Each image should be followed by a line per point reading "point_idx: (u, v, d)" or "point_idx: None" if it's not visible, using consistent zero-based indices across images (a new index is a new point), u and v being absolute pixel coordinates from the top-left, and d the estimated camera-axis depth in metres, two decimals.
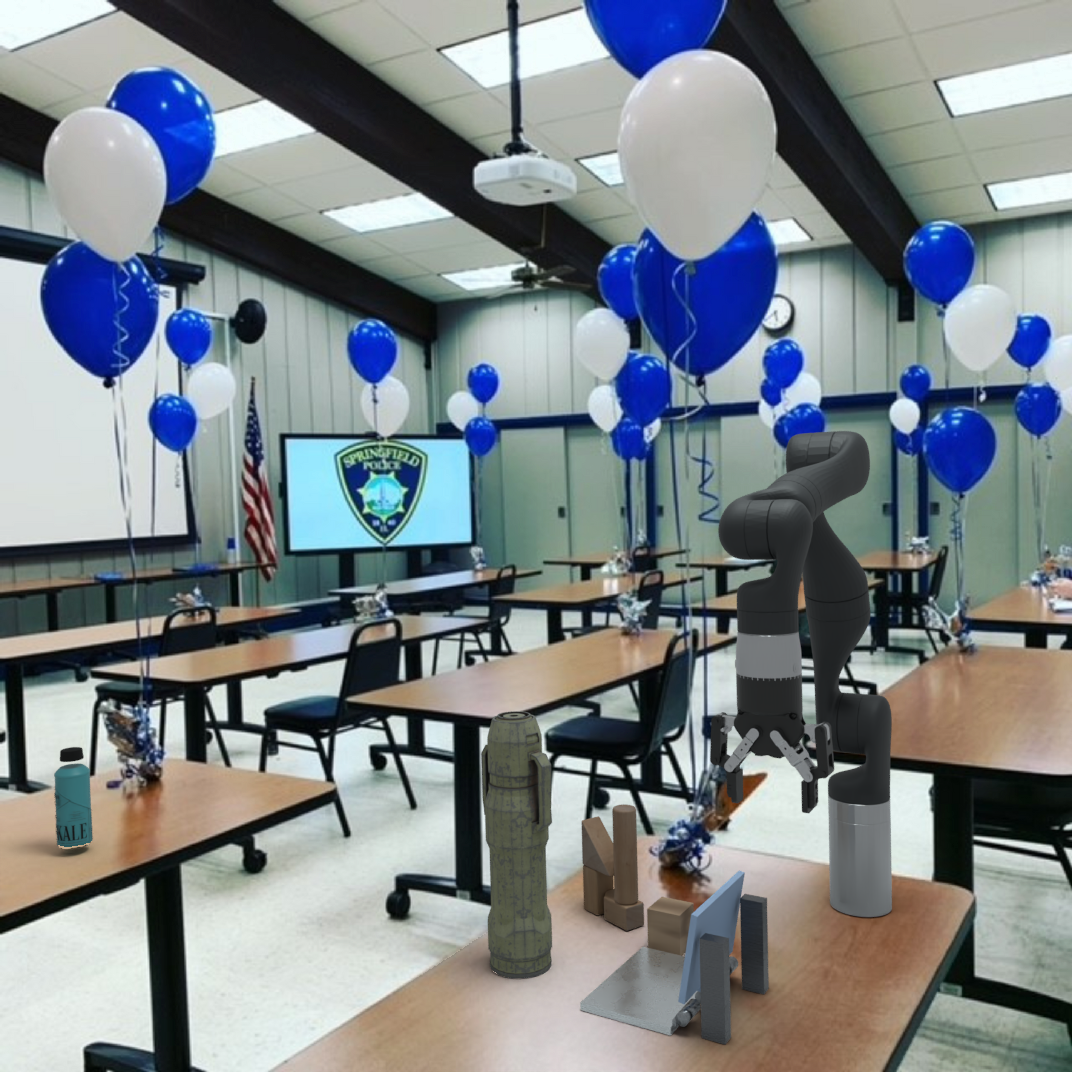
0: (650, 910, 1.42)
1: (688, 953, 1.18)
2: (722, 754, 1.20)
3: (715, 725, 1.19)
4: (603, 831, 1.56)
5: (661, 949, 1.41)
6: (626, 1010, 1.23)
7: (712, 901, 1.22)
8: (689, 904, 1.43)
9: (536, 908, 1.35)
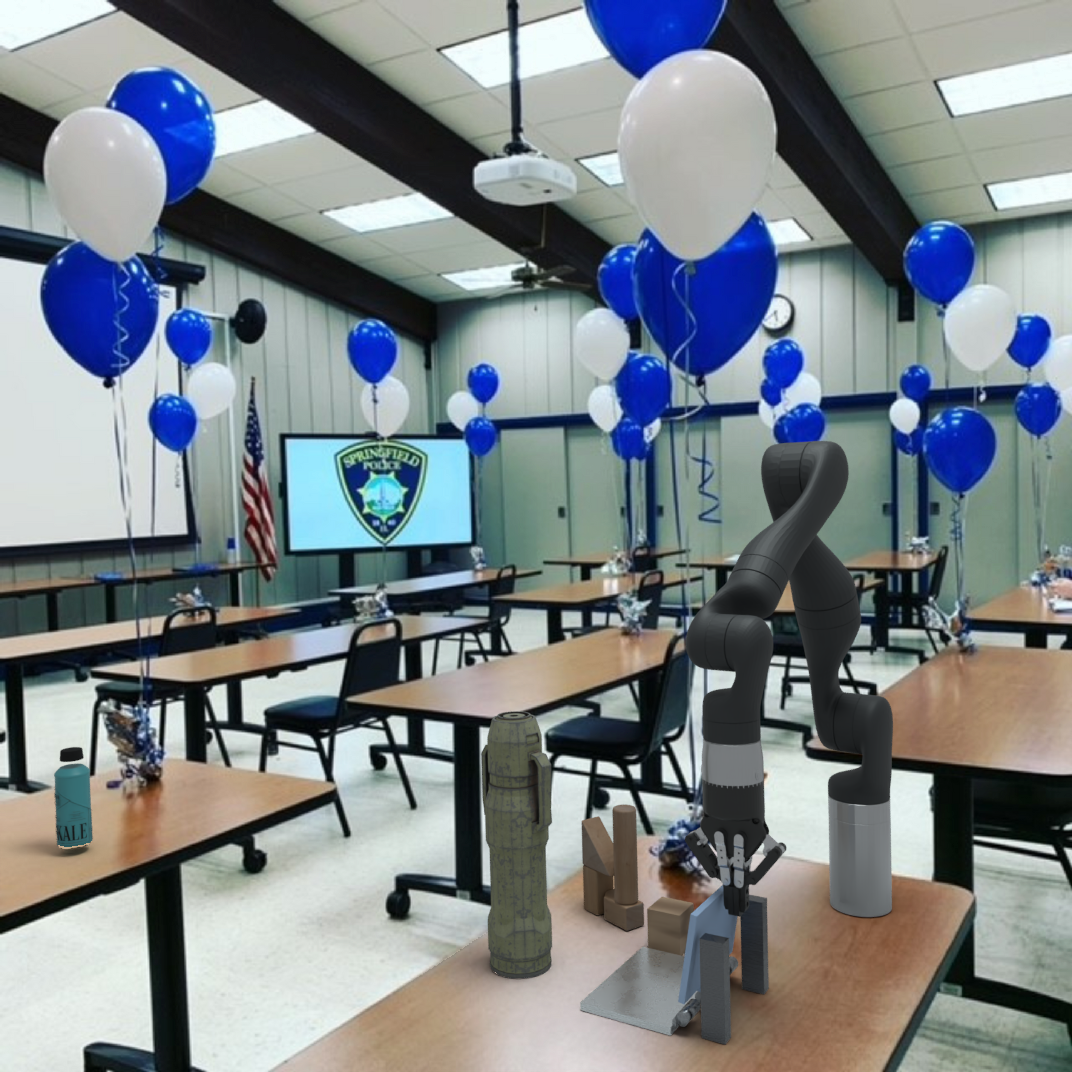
0: (650, 910, 1.42)
1: (688, 953, 1.18)
2: (716, 864, 1.25)
3: (691, 843, 1.25)
4: (603, 831, 1.56)
5: (661, 949, 1.41)
6: (626, 1010, 1.23)
7: (711, 901, 1.22)
8: (689, 904, 1.43)
9: (536, 908, 1.35)
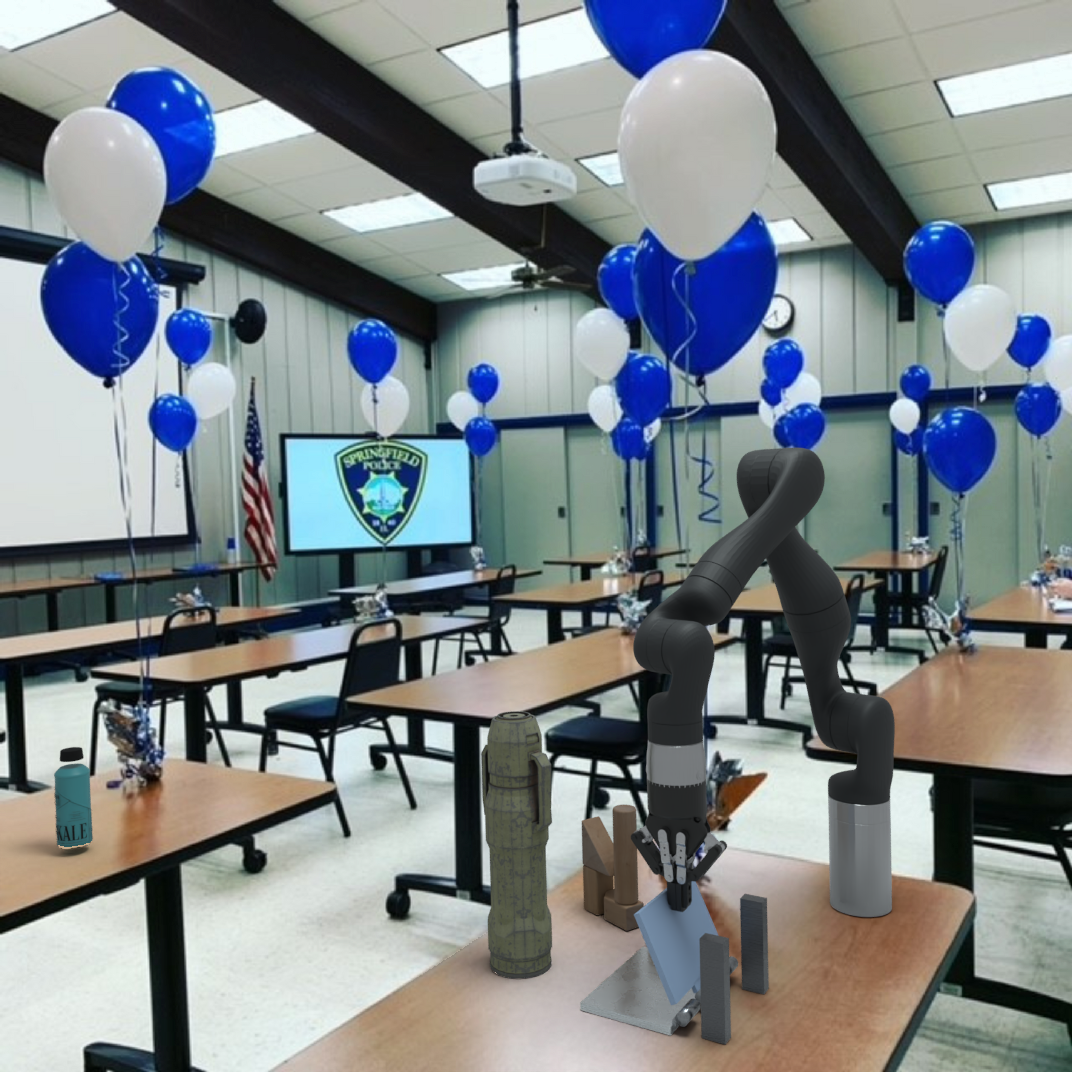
0: None
1: (652, 952, 1.21)
2: (660, 861, 1.29)
3: (636, 841, 1.29)
4: (604, 831, 1.56)
5: None
6: (626, 1010, 1.23)
7: (655, 899, 1.26)
8: None
9: (536, 908, 1.35)
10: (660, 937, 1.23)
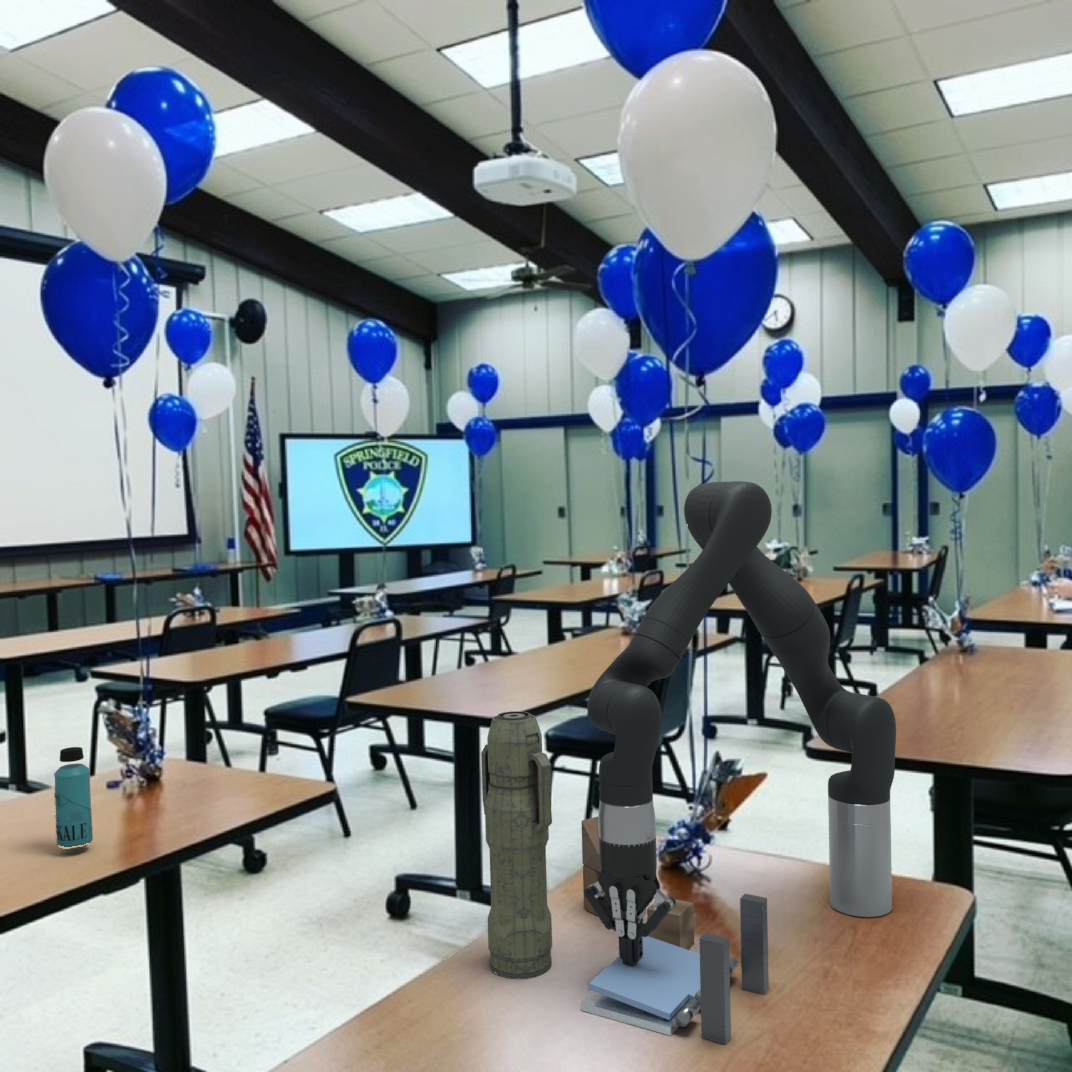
0: (650, 910, 1.42)
1: (622, 999, 1.23)
2: (612, 916, 1.33)
3: (589, 896, 1.33)
4: None
5: None
6: (626, 1010, 1.23)
7: None
8: (689, 904, 1.43)
9: (536, 908, 1.35)
10: (625, 985, 1.26)
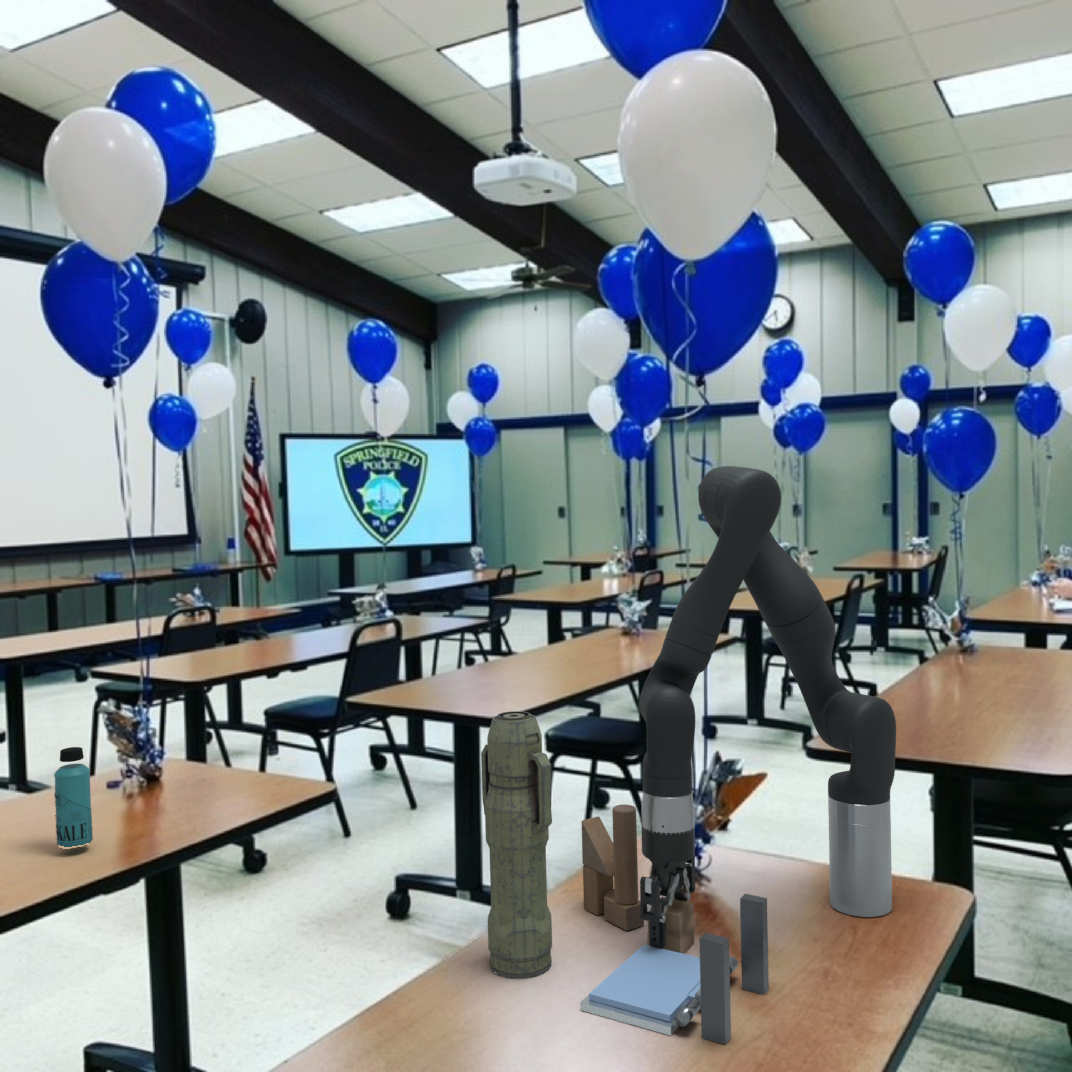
0: None
1: (622, 1006, 1.23)
2: None
3: None
4: (603, 831, 1.56)
5: None
6: (626, 1010, 1.23)
7: (607, 978, 1.30)
8: (689, 904, 1.43)
9: (536, 908, 1.35)
10: (625, 992, 1.26)
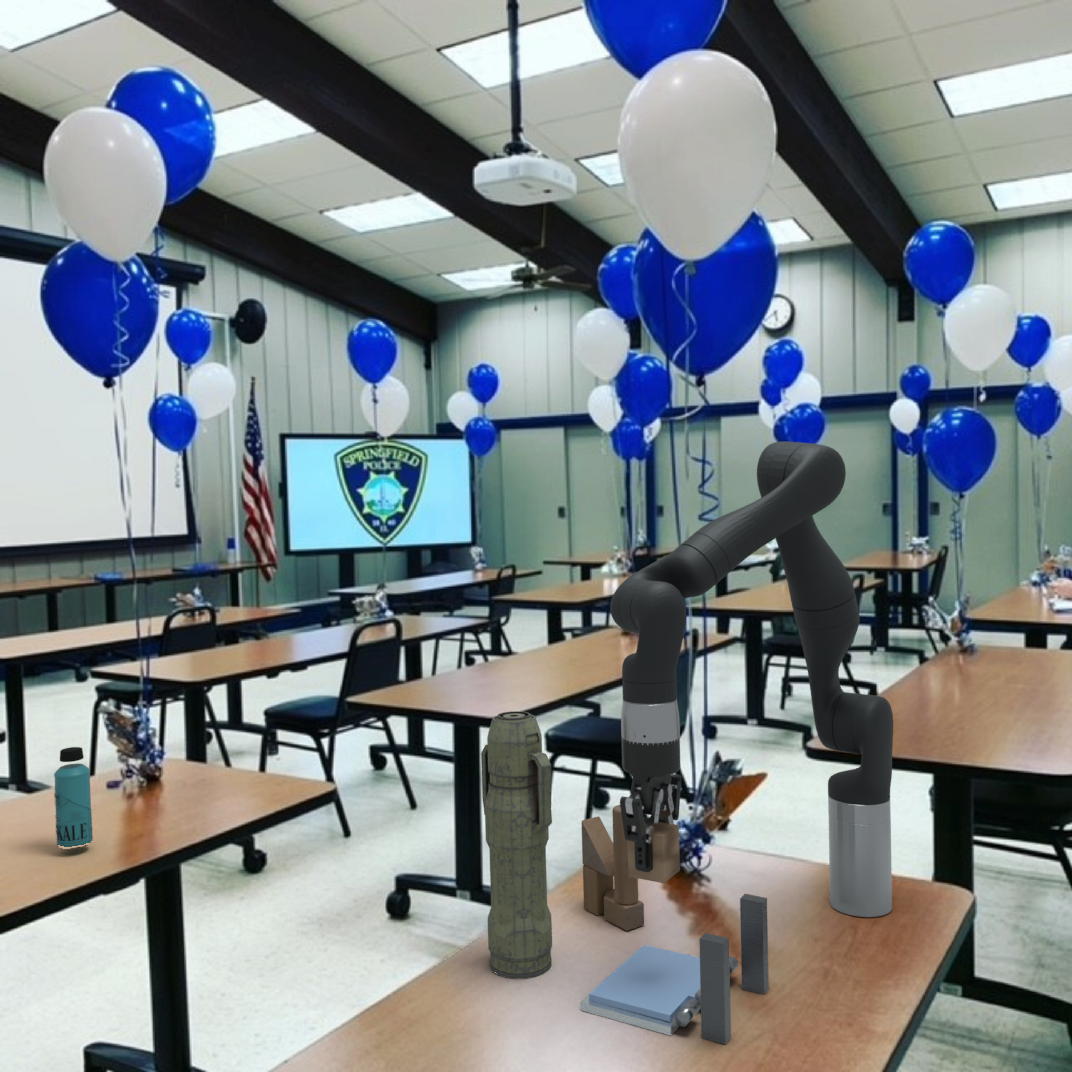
0: None
1: (622, 1006, 1.23)
2: None
3: None
4: (603, 831, 1.56)
5: (643, 875, 1.27)
6: (626, 1010, 1.23)
7: (607, 978, 1.30)
8: (674, 826, 1.29)
9: (536, 908, 1.35)
10: (625, 993, 1.26)
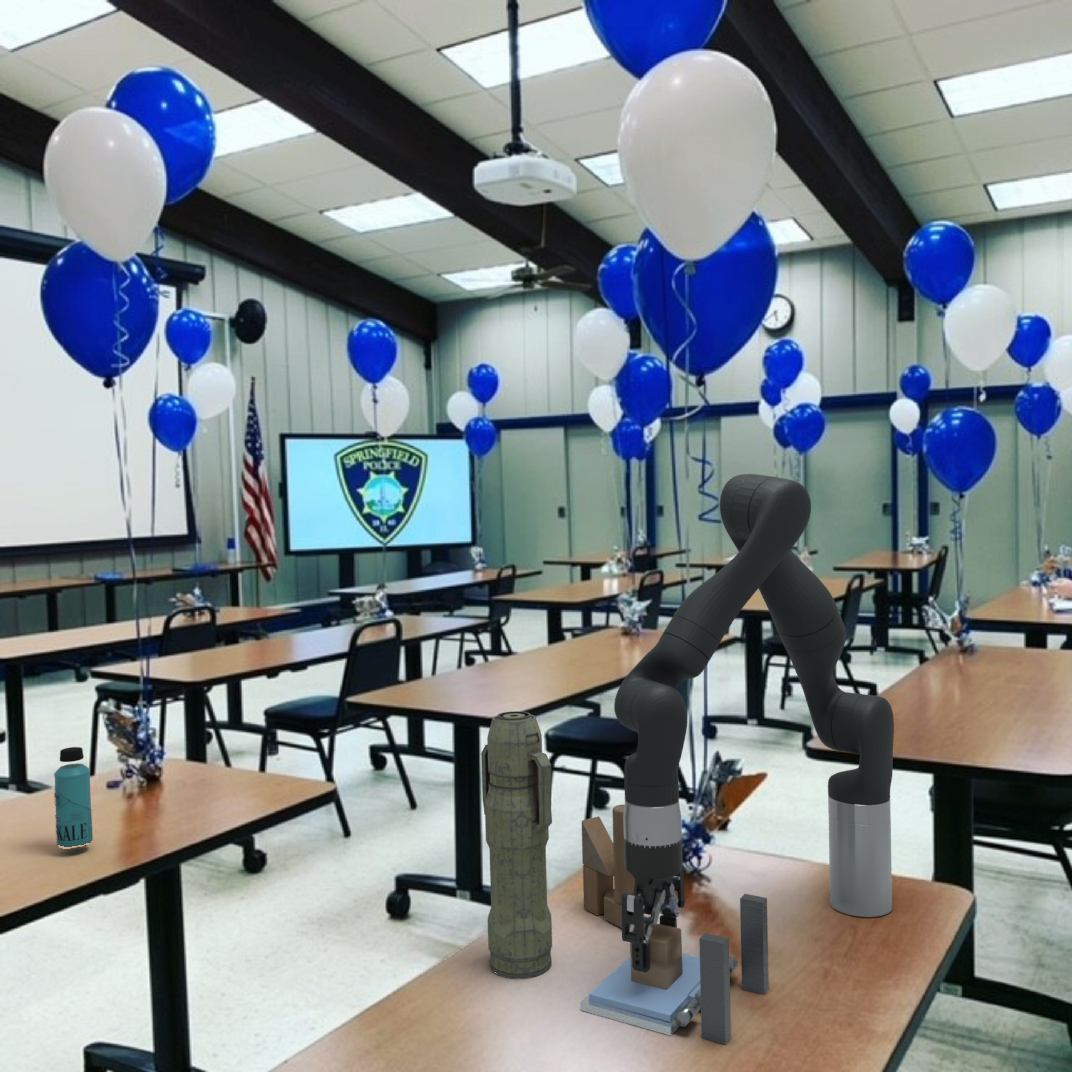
0: None
1: (622, 1006, 1.23)
2: None
3: None
4: (604, 831, 1.56)
5: (645, 980, 1.28)
6: (626, 1010, 1.23)
7: (607, 978, 1.30)
8: (676, 930, 1.30)
9: (536, 908, 1.35)
10: (625, 993, 1.26)
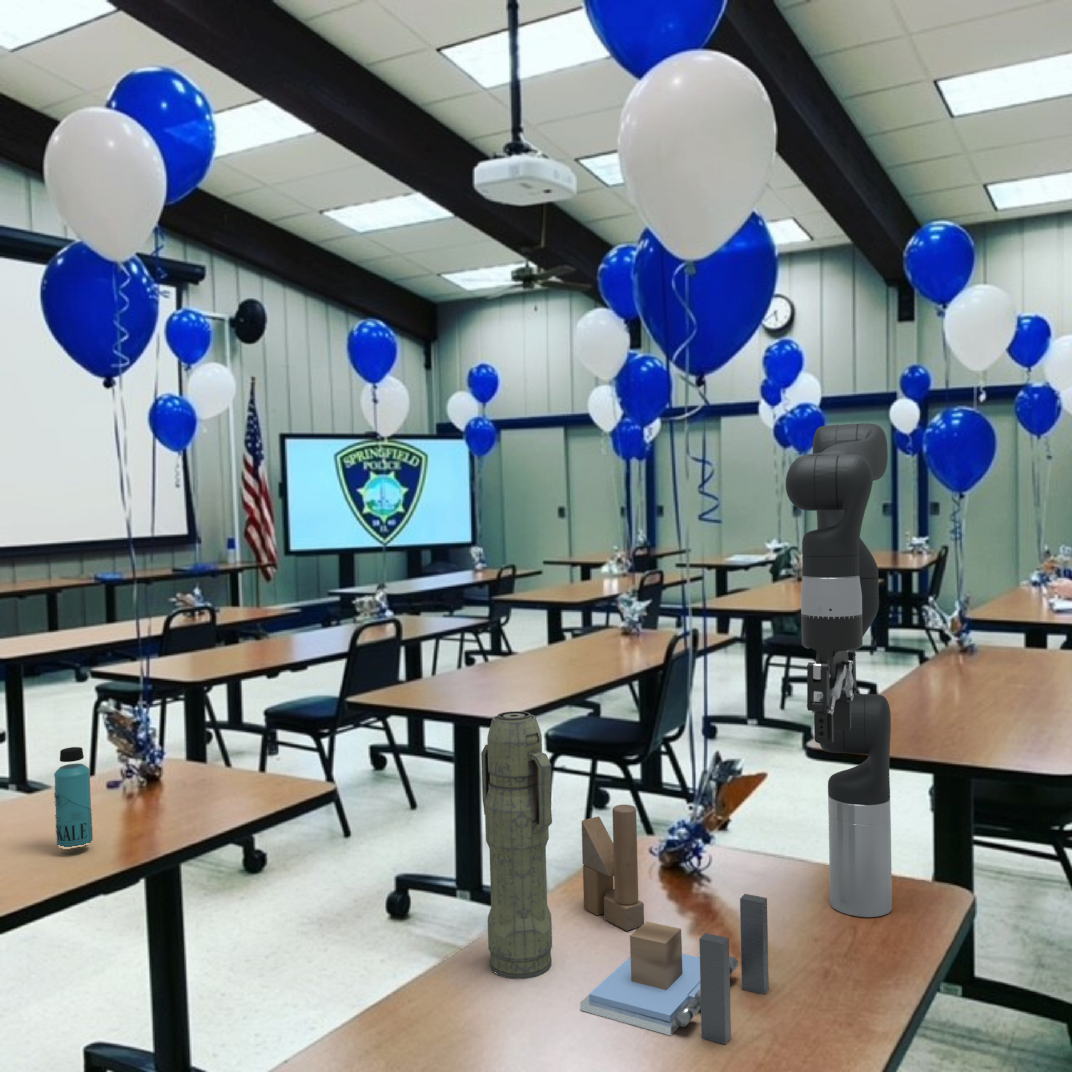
0: (633, 937, 1.29)
1: (622, 1006, 1.23)
2: None
3: None
4: (604, 831, 1.56)
5: (645, 980, 1.28)
6: (626, 1010, 1.23)
7: (607, 978, 1.30)
8: (676, 930, 1.30)
9: (536, 908, 1.35)
10: (625, 993, 1.26)
